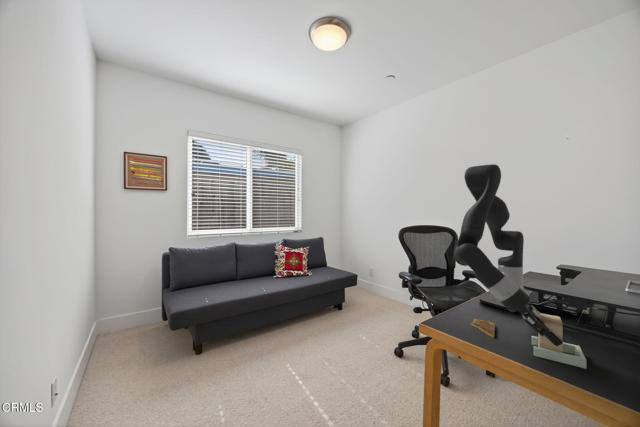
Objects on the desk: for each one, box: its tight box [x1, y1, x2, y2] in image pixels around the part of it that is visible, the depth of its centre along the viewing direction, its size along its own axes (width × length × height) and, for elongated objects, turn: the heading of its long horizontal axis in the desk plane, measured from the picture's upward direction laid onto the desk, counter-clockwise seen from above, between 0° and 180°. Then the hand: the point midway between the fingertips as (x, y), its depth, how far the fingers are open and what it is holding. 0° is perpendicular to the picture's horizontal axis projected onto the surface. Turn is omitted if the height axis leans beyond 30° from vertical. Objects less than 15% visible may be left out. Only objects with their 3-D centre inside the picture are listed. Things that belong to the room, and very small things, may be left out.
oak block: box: [537, 312, 564, 353], centre depth 76 cm, size 5×5×11 cm
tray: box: [531, 335, 587, 370], centre depth 76 cm, size 8×11×2 cm
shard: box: [470, 318, 496, 338], centre depth 92 cm, size 11×8×2 cm
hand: (557, 339), depth 75 cm, fingers open, 5 cm apart
